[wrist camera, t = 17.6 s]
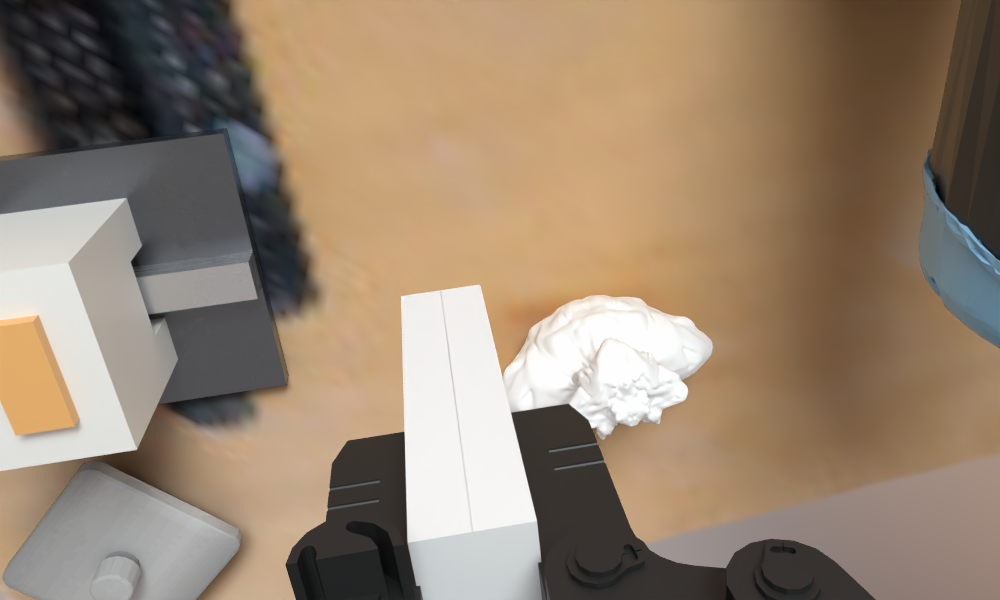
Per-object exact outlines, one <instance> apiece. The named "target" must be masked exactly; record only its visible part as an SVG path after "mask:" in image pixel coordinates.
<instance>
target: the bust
mask: <svg viewBox="0 0 1000 600" xmlns="http://www.w3.org/2000/svg"><path fill="white" fill-rule="evenodd" d="M712 350H713V344H712V341H711V340H710V339H709V338H708V337H707V336H706V335H705V334H704V333H703V332H701V331H700V330H698V329H697V328H696V326H695V325H694V323H693V322H692V321H691V320H690V319H689V318H686V317H683V316H673V315H669V314H666V313H663V312H661V311H659V310H657V309H655V308H651V307H649V306H648V305H647V304H646V303H645V302H644V301H643V300H641V299H640V298H635V297H610V296H607V295H593V296H588V297H585V298H584V299H581V300H574V301H571V302H569V303H567V304H566V305H563V306H561V307H559V308H558V309H557V310H556V311H555V312H554V313H553V314H552V315H551V316H549V317H547V318H545V319H543V320H542V321H540V322H539V323H537V324H536V325H534V326H533V327H532V328H531V329H530V331H529V334H528V336H527V339H526V341H525V344H524V345H523V347H522V348H521V351H520V352H519V353H518V354H517V356H516V357H515V359H514V360H513V361H512V363H511V364H510V365H509V366H508V367H507V368H506V369H505V371H504V374H503V377H502V378H503V382H504V386H505V390H506V395H507V399H508V403H509V407H510V411H511V413H512V412H518V411H525V410H531V409H537V408H543V407H550V406H556V405H562V404H570V405H571V406H572V407H573V408H574V409H576V410H577V411H578V412H579V413H581V414H582V415H583V416H584V417H585V418H587V419H588V420H589V423H590V425H591V428H597V435H598V436H599V437H600V438H601V439H602V440H604V439H605V437H606V435H610V434H611V432H612V431H613V429H614V427H615V426H617V424H618V423H621V424H626V425H627V426H630V427H632V426H636V425H637V424H638V422H639V421H643V422H644V423H650V422H652V423H655V424H659V423H660V417H661V414H662V410H663V409H664V408H667V407H670V406H672V405H675V404H678V403H681V402H683V401H684V400H685V399H686V397H687V395H688V389H687V386H686V385H685V384H684V383H683V382H682V380H684V379H686V378H687V377H689V376H690V375H692V374H693V373H695V372H696V371H697V370H698V369H699V368H700V367H701V366H702V365H703V364H704V363H705V361H706V360H707V359H708V358H709V357H710V356H711V354H712Z"/></svg>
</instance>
